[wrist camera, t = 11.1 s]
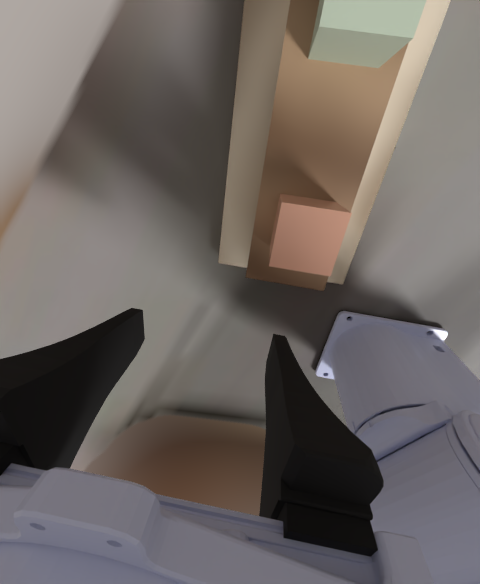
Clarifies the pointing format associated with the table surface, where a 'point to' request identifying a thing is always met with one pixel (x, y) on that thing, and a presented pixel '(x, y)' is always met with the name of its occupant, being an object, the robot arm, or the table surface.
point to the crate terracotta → (307, 234)
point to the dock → (257, 117)
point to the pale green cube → (363, 30)
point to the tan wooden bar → (316, 135)
